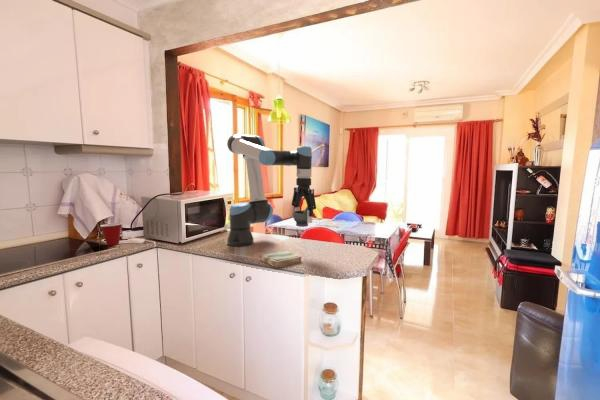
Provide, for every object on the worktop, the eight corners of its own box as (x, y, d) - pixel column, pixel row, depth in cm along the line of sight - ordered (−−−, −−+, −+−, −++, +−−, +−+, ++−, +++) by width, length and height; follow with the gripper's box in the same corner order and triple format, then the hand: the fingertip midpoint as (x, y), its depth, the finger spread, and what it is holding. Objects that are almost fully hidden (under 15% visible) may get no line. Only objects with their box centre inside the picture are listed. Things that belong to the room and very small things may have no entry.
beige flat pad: (260, 259, 141) (260, 254, 141) (284, 254, 150) (284, 249, 149) (276, 267, 130) (276, 261, 130) (301, 261, 139) (301, 256, 138)
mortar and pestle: (297, 228, 144) (297, 203, 142) (289, 224, 152) (289, 201, 151) (317, 226, 148) (317, 202, 147) (308, 222, 157) (309, 200, 155)
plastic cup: (117, 241, 174) (115, 221, 173) (127, 243, 169) (126, 222, 168) (97, 245, 165) (95, 224, 163) (108, 247, 160) (106, 226, 158)
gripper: (285, 176, 154) (284, 218, 157) (312, 178, 136) (311, 225, 139) (296, 176, 159) (296, 217, 161) (324, 178, 141) (323, 224, 144)
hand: (303, 221), depth 150 cm, fingers closed on mortar and pestle, 10 cm apart
